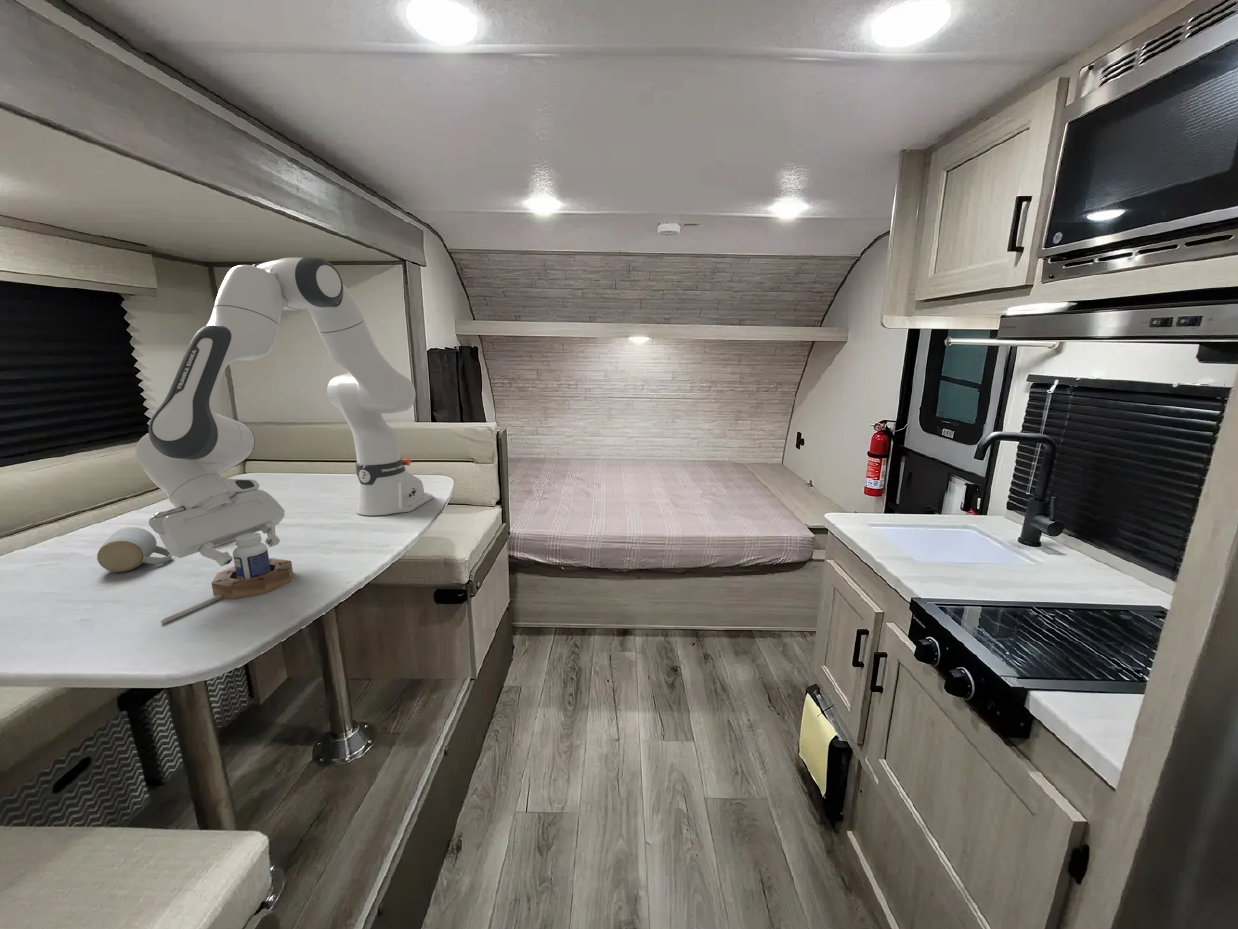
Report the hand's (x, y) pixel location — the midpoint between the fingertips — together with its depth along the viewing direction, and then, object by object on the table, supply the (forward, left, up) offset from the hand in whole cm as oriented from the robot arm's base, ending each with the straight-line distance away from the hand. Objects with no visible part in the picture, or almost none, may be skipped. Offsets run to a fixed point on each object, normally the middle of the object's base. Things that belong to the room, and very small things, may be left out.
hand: (252, 553), depth 95 cm
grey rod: (+11, -1, -6) cm, 13 cm away
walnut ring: (0, -1, -6) cm, 6 cm away
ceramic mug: (0, -33, -7) cm, 34 cm away
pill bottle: (0, -1, -7) cm, 7 cm away
